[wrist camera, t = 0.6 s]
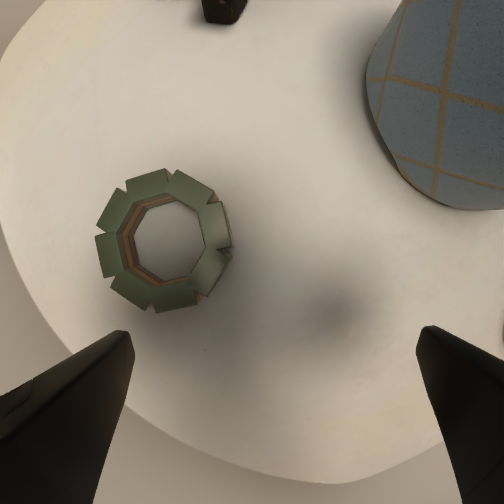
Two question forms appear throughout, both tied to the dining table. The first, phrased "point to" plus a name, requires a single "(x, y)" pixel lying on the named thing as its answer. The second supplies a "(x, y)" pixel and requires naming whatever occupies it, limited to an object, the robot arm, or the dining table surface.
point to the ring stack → (124, 252)
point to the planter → (443, 98)
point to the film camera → (222, 10)
